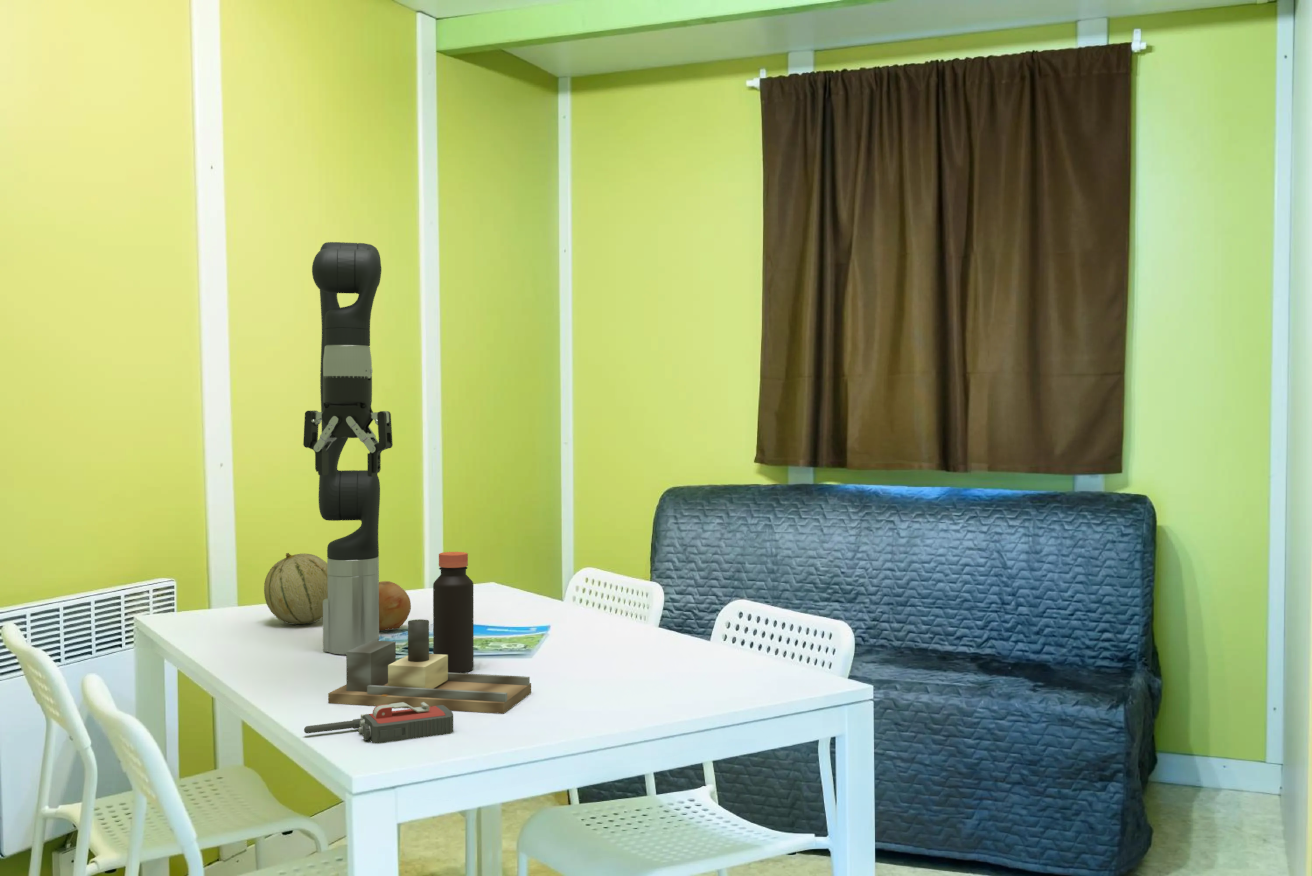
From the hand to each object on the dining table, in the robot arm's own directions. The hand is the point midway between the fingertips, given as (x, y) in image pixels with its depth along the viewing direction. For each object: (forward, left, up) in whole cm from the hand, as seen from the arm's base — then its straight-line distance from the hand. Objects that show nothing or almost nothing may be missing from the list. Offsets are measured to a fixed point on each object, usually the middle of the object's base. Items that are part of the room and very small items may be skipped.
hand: (348, 475), depth 188 cm
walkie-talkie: (+17, -24, -35) cm, 45 cm away
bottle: (+12, +15, -34) cm, 39 cm away
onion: (-14, +45, -34) cm, 58 cm away
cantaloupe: (-35, +48, -34) cm, 69 cm away
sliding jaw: (+14, -4, -32) cm, 35 cm away
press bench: (+16, -4, -34) cm, 38 cm away
